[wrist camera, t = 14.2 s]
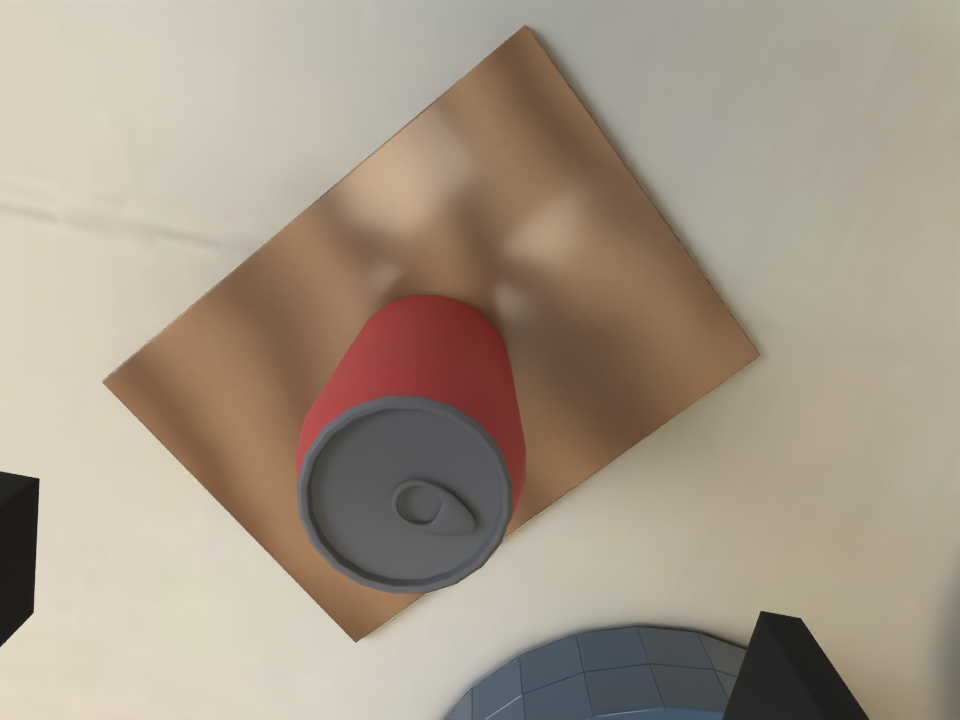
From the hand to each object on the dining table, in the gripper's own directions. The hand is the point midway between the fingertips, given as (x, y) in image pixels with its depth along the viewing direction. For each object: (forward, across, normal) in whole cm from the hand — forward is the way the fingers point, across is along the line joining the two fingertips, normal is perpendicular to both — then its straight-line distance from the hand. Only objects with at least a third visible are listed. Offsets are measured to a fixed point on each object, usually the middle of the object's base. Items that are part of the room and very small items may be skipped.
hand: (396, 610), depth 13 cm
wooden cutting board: (+18, 0, -1) cm, 18 cm away
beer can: (+18, 0, -1) cm, 18 cm away
